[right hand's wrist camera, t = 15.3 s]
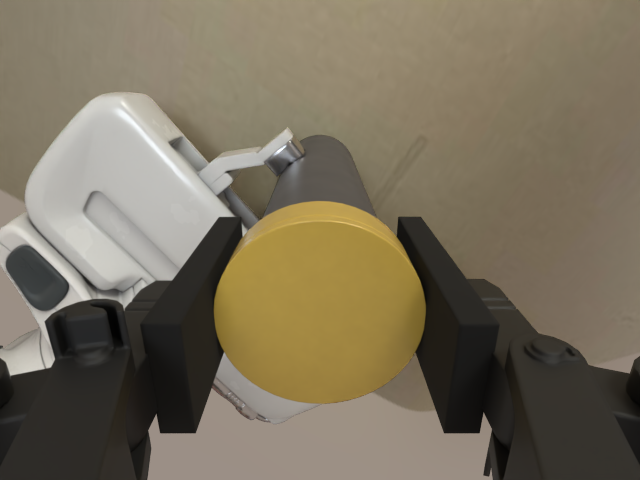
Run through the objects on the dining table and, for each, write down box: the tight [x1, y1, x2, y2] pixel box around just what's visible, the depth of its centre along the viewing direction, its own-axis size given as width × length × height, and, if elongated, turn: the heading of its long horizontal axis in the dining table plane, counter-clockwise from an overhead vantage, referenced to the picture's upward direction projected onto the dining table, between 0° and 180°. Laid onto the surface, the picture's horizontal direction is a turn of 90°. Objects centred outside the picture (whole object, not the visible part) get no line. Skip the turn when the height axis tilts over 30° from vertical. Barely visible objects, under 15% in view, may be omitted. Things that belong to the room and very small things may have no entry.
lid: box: [214, 201, 426, 404], centre depth 11 cm, size 5×5×2 cm
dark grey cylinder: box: [262, 135, 377, 219], centre depth 19 cm, size 5×5×18 cm
